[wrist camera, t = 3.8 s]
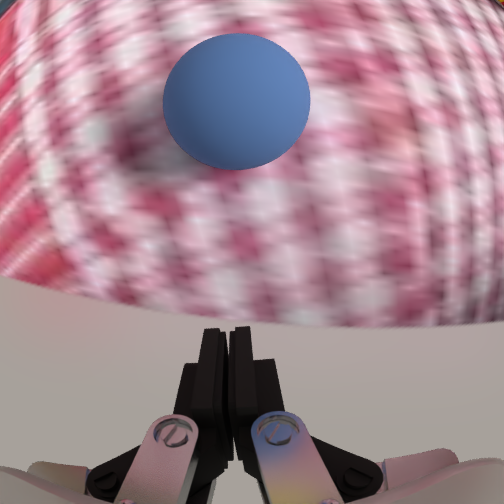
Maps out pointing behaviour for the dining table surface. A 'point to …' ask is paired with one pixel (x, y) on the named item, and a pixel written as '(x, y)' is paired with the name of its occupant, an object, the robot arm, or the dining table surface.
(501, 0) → the soda can
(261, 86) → the ball
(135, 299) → the dining table surface
